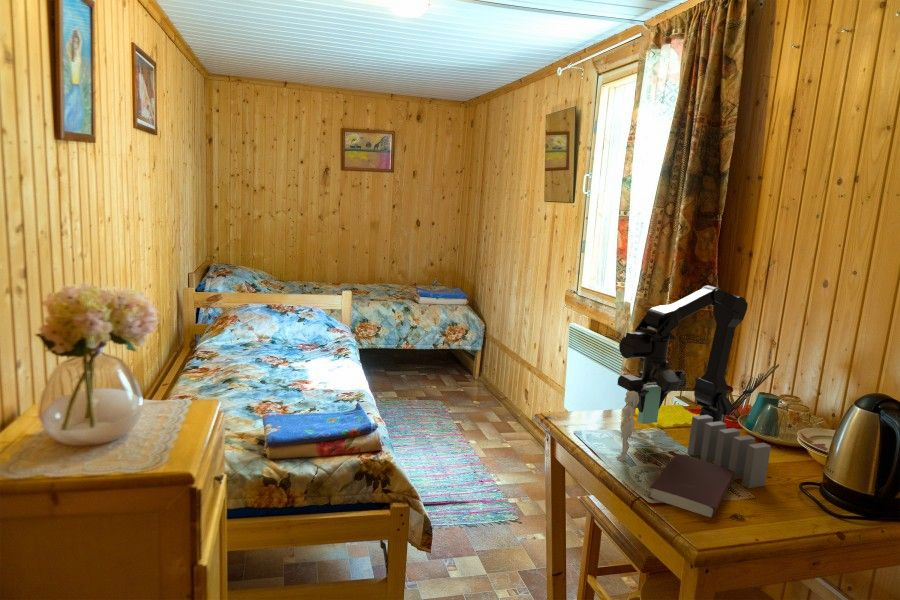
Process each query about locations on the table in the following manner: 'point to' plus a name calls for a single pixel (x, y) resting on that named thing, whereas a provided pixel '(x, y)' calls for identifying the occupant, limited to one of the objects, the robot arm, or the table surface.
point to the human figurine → (628, 422)
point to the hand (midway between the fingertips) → (648, 411)
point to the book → (692, 485)
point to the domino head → (650, 405)
